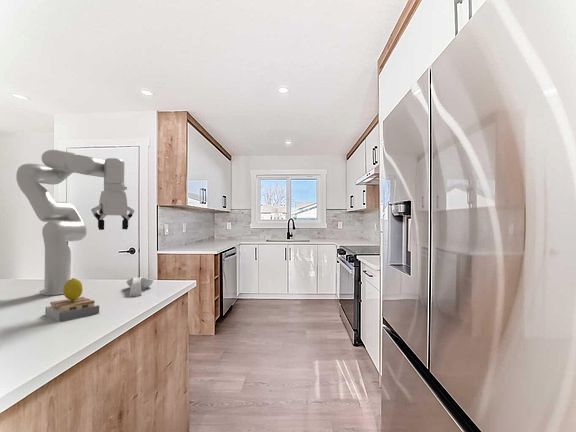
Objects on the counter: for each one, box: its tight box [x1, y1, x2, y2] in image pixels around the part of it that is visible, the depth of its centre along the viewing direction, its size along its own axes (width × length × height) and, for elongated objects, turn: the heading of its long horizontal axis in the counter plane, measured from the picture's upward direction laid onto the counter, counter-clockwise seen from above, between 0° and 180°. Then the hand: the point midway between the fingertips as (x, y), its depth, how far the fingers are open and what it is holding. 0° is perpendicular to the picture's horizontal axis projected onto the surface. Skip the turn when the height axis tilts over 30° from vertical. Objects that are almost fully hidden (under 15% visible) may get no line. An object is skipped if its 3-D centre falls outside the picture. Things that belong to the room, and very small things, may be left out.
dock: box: [44, 303, 100, 322], centre depth 115 cm, size 12×12×3 cm
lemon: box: [63, 277, 83, 301], centre depth 116 cm, size 6×6×8 cm
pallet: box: [50, 296, 96, 312], centre depth 116 cm, size 10×10×2 cm
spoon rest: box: [126, 276, 154, 297], centre depth 154 cm, size 24×12×7 cm, turn 19°
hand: (113, 229), depth 140 cm, fingers open, 9 cm apart
